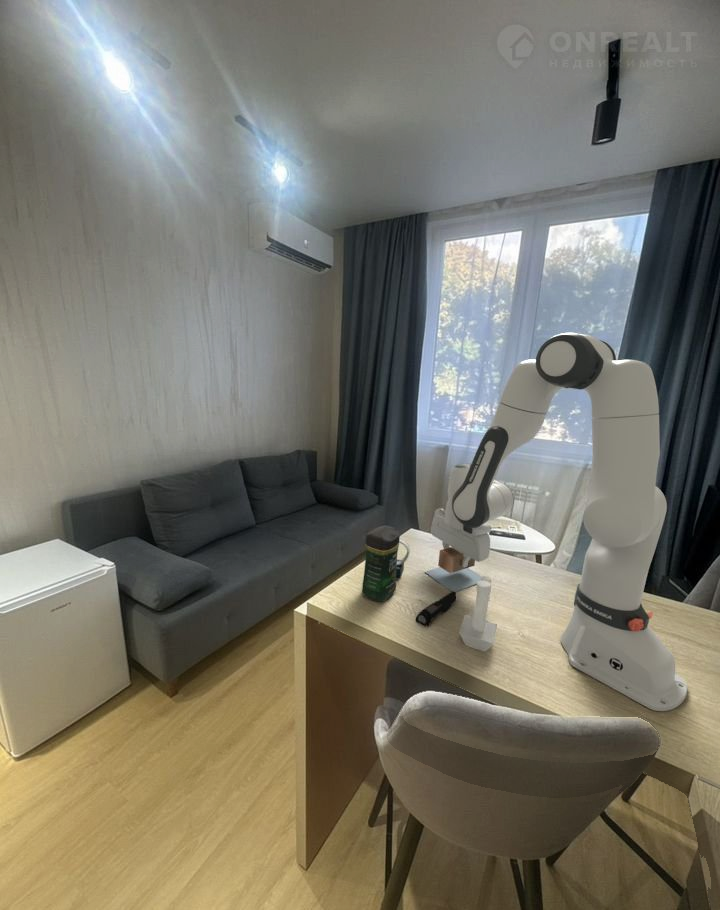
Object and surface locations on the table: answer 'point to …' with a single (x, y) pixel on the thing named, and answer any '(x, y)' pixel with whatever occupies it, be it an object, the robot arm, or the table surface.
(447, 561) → the walnut block
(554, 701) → the table surface
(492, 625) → the white peg stand
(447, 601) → the electric trimmer
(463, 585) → the slate pad
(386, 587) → the coffee jar
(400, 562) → the watch
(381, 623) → the table surface
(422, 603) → the table surface
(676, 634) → the table surface
